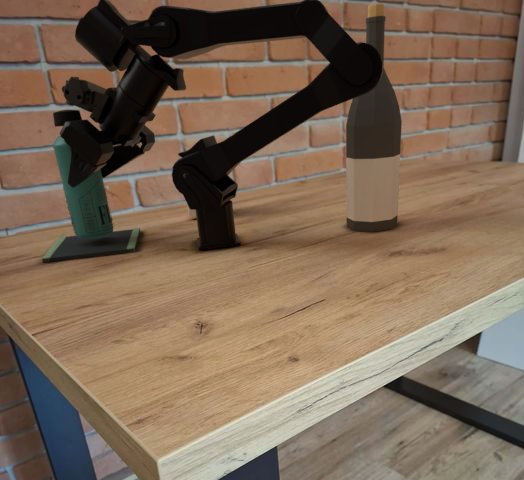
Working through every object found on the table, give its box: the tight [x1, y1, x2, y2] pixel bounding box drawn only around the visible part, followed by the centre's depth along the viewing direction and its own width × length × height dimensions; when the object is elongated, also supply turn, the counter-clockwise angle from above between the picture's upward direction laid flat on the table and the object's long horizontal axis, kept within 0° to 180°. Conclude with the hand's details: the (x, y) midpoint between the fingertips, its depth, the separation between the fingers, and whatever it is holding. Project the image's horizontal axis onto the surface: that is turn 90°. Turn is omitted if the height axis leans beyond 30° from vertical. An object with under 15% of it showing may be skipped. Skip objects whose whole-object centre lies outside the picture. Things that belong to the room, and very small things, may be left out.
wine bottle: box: [345, 2, 403, 233], centre depth 76 cm, size 8×8×30 cm
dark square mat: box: [41, 227, 141, 263], centre depth 85 cm, size 14×14×1 cm
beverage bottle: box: [52, 109, 115, 238], centre depth 80 cm, size 6×7×20 cm
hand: (86, 180), depth 80 cm, fingers open, 9 cm apart
